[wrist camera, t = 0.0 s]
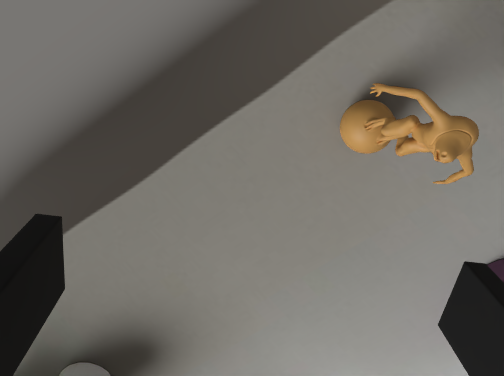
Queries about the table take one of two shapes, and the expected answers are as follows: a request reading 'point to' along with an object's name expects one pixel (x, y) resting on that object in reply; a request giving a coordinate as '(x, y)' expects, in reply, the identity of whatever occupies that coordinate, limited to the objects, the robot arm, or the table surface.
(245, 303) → the table surface
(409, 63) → the table surface
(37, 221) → the robot arm
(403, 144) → the figurine
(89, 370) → the white short cylinder
